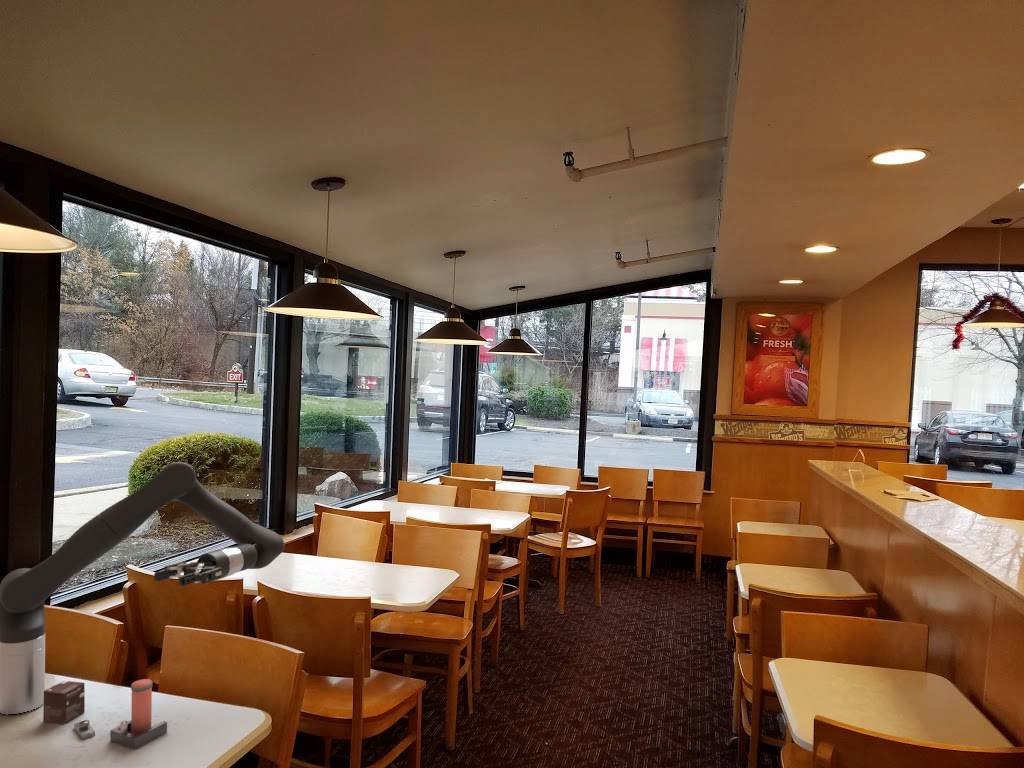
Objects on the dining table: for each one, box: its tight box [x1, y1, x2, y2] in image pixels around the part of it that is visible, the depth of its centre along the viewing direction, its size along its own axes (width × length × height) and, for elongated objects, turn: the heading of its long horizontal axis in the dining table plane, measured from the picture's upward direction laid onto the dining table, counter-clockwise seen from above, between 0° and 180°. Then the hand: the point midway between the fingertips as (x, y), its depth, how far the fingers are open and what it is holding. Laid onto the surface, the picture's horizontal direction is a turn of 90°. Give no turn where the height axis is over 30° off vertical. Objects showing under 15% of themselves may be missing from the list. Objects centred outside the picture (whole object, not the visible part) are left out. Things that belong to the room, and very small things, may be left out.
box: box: [42, 680, 86, 725], centre depth 163 cm, size 6×6×7 cm
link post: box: [130, 678, 153, 735], centre depth 155 cm, size 4×4×12 cm
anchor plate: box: [73, 719, 96, 740], centre depth 156 cm, size 7×2×2 cm, turn 46°
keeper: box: [109, 720, 168, 751], centre depth 154 cm, size 8×8×5 cm
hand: (167, 579), depth 166 cm, fingers open, 8 cm apart
